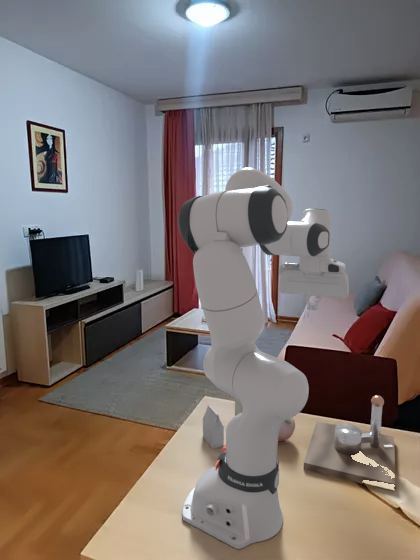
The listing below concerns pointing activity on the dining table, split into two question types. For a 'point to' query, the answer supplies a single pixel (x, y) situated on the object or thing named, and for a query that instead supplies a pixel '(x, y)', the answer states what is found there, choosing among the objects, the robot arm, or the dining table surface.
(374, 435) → the crank handle
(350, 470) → the stand
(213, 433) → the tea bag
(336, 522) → the dining table surface
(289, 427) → the decorative fruit
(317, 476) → the dining table surface
